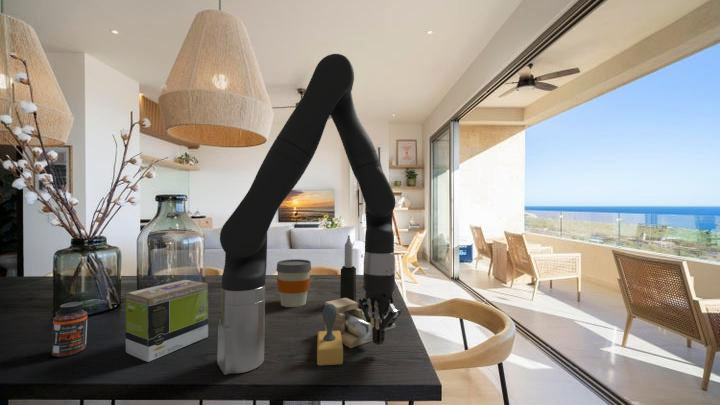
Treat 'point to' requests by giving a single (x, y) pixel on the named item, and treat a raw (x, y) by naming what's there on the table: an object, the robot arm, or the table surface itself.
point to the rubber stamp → (329, 340)
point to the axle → (358, 327)
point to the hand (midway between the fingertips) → (378, 343)
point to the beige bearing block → (339, 324)
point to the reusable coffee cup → (293, 281)
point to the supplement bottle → (69, 330)
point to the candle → (348, 274)
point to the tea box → (165, 318)
